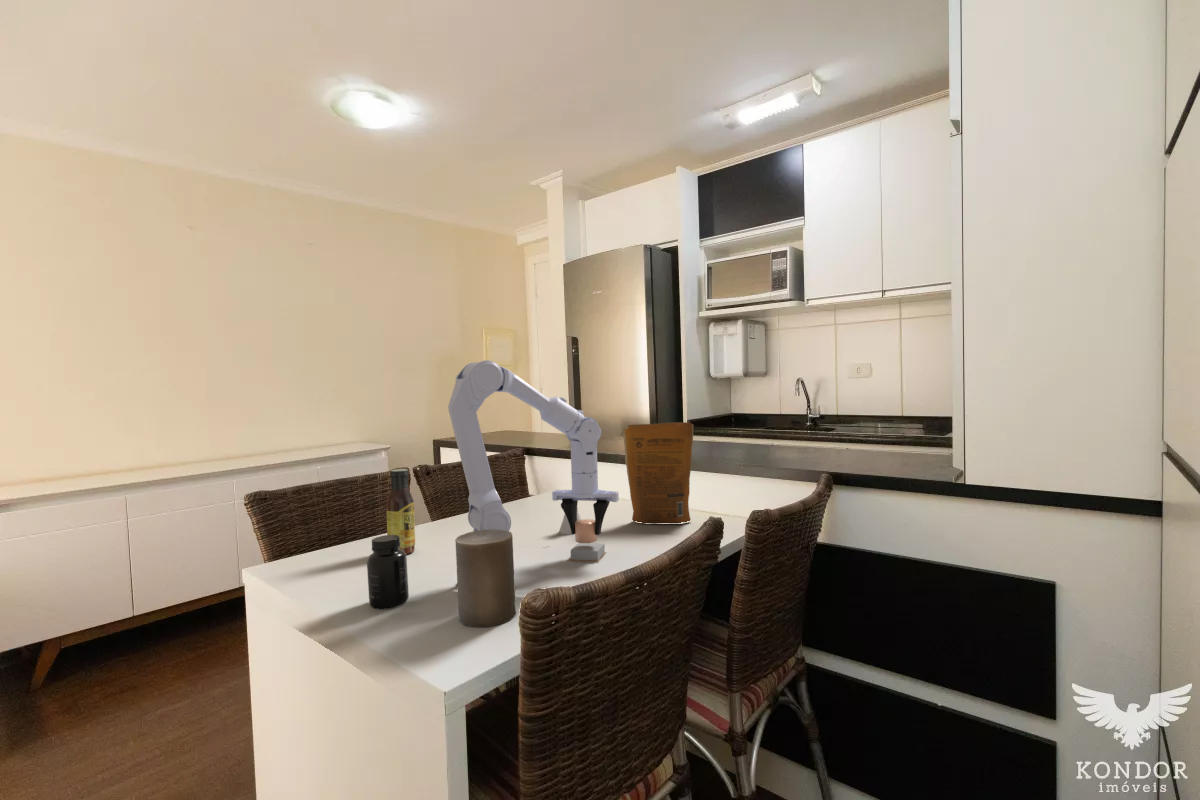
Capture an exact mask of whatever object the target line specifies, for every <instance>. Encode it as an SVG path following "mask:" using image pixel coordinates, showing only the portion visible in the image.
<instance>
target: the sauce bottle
mask: <svg viewBox="0 0 1200 800" xmlns="http://www.w3.org/2000/svg"><path fill="white" fill-rule="evenodd" d="M408 477H409V469H407V468H401V469H392V470H390V478H391V490H390V492H389V494H388V495H387V498H386V535H397V536H399V537H400V547H399V549H401V550H403V551H404V552H405V553H406V555H408V554H411V553H414V552H415V546H416V531H415V530H416V524H415V521H416V520H415V500H414V498H413V496H412V493H411V491H410V488H409V478H408Z"/></svg>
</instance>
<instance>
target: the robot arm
mask: <svg viewBox="0 0 1200 800" xmlns="http://www.w3.org/2000/svg"><path fill="white" fill-rule="evenodd" d="M497 392H498V393H508V394H510V395H511V396H513V397H515V398H517V399H518V400H520V401H522V402H523V403H525V404H526V405H529V406H530V407H532V408H534V409H535V410H536V411H539V415H540V418H541V420H542V421H543V422H546V423H547V424H548V425H550V426H552V427H553V428H555V429H556V430H558V431H559V432H561V433H563V434H565V436H566V438H567V439H568V440H569V441H570V460H571V461H570V463H571V465H570V467H571V468H570V470H571V472H570V473H571V489H560V490H559V489H557V490H556V489H555V490H552V493H551V494H552V495H551V496H552V497H551V498H552V501H561V503H560V508H561V509H562V511H563V512H564V515H566V517H567V519H568V522H569V525H570V528H571V533H572V534H574V535H575V522H576V521H577V508H578V503H579V501H580V502H581V501H583V502H584V501H585V502H586V501H587V502H594V503H593V506H592V507H593V511H594V520H595V535H597V536H600V535H601V533H602V526H603V523H604V522H603V521H604V518H605V515H606V512H607V509H608V507H609V505H610V502H612V503H618V502H619V491H613V490H603V489H599V477H598V474H599V473H598V443H599V442H598V441H599V440H600V438H601V436H602V431H603V429H601V427H600V425H599V424H598V423H599V422H598V421H597V420H596V419H594V418H593V417H589V416H584V411H582V410H581V409H576V408H574V407H573V406H571V405H570V404H569V403H567V402H568V400H567V399H566V398H564V397H557V396H553V397H550V398H549V397H547V396H546V395H545V394H543V393H542V392H540V391H539V390H537V389H536V388H534V387H533V386H532V385H530V384H529V383H527V382H526V381H525V380H524V379H522V378H521V377H519V376H518V375H517V374H515V373H514V372H512V371H511V370H510V369H508V368H506V367H504V366H500V365H499V364H498V363H497V362H494V361H493V360H489V359H488V360H486V359H485V360H481V361H478V362H476V361H475V362H470V363H468V364H466V365H464V367H463V368H462V369H461V370H460V371H459V372H458V374H457V375H456V376H455V383H454V387H453V389H452V392H451V395H450V399H449V402H448V405H447V407H448V413H449V417H450V422H451V426H452V429H453V434H454V437H455V441H456V445H457V449H458V452H459V453H458V454H459V457H460V461H461V464H462V465H461V466H462V468H463V472H464V478H465V480H466V485H467V488H468V489H467V490H468V492H469V495H468V499H467V501H468V506H469V507H468V514H467V520H468V523H469V525H470V526H471V528H473V530H472V532H474V531H480V530H484V529H485V530H492V529H498V530H506V531H509V532H510V530H511V528H512V527H511V526H512V518H511V516H510V514H509V512H508V511H507V510H506V509H505V508H504V506H503V502H502V499H501V497H500V496H499V493H498V492H497V490H496V488H495V487H496V486H495V484H494V479H493V475H492V471H491V467H490V463H489V459H488V455H487V450H486V448H485V442H484V439H483V435H482V431H481V427H480V423H479V418H478V415H477V414H478V413H477V411H479V409H480V407H481V406H482V404H483V403H484V402H485V401H486V399H487V398H489V397H490V396H492V394H494V393H497Z"/></svg>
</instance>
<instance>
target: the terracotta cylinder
mask: <svg viewBox="0 0 1200 800" xmlns="http://www.w3.org/2000/svg"><path fill="white" fill-rule="evenodd" d="M574 536H575V537H574V538H575V539H574V541H575V542H576V543H577V544H578V543H597V542H598V535H595V519H589V518H586V519H581V520H578V521H576V522H575V534H574Z"/></svg>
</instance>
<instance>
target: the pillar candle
mask: <svg viewBox="0 0 1200 800" xmlns="http://www.w3.org/2000/svg"><path fill="white" fill-rule="evenodd" d="M513 540H514V539H513V533H512V532H511V531H510V530H509V531H506V530H498V529H492V530H485V529H484V530H480V531H474V532H473V531H470V532H466V533H464V534H460V535H459V536H457V537H456V539H455V557H456V558H455V559H456V581H457V583H456V584H457V585H456V586H457V603H458V604H457V606H458V609H457V610H458V620H459V622H460V623H461V624H463V625H464V626H468V627H475V628H476V627H477V628H481V627H482V628H483V627H491V626H498V625H501V624H504V623H506V622H508V621H510V620H512V619H513V618H514V616H516V615H517V611H516V590H515V587H516V586H515V567H514V566H515V565H514V564H515V563H514V543H513Z"/></svg>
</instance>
